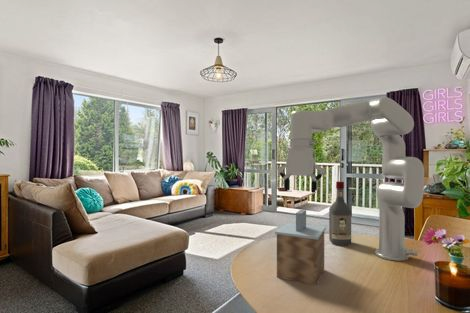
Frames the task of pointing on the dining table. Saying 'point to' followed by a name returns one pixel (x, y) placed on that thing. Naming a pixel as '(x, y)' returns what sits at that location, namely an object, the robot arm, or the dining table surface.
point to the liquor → (340, 219)
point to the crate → (300, 258)
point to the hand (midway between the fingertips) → (300, 191)
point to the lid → (301, 228)
